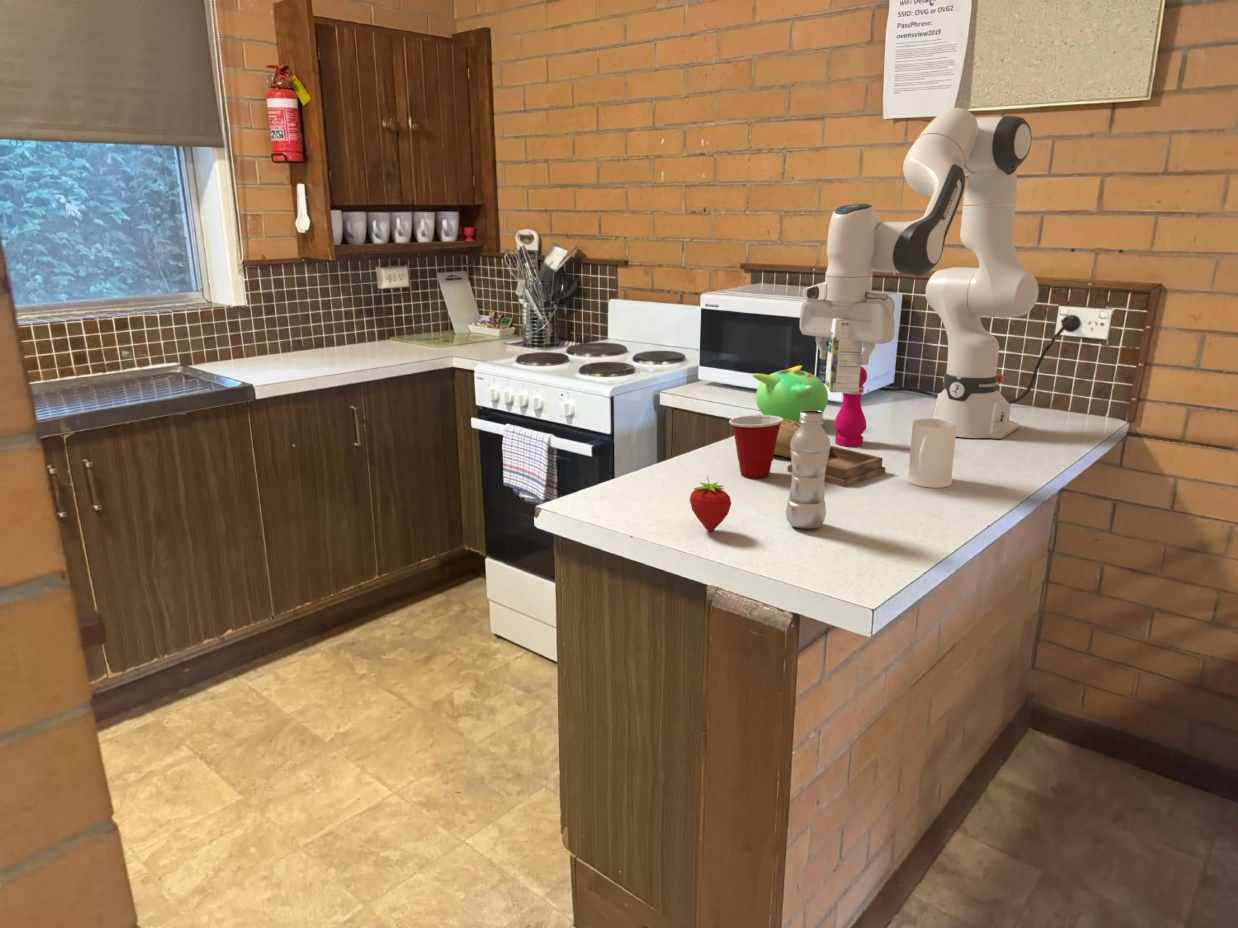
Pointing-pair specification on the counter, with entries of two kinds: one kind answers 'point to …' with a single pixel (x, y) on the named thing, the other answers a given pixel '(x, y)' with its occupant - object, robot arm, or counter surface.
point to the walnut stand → (850, 466)
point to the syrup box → (842, 359)
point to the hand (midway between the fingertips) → (843, 361)
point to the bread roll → (785, 437)
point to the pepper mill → (851, 417)
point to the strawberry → (710, 504)
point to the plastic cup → (755, 443)
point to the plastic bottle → (808, 472)
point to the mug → (932, 453)
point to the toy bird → (790, 393)
